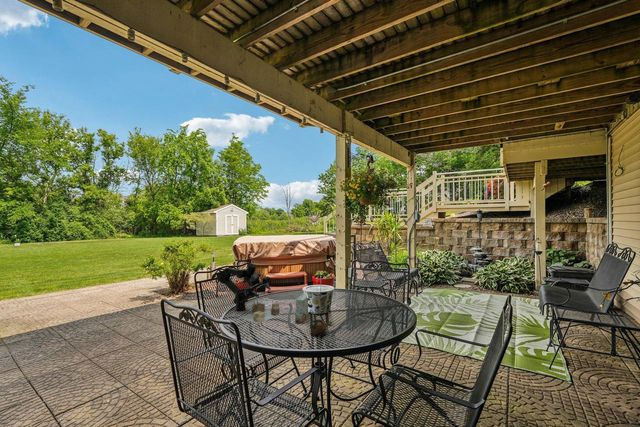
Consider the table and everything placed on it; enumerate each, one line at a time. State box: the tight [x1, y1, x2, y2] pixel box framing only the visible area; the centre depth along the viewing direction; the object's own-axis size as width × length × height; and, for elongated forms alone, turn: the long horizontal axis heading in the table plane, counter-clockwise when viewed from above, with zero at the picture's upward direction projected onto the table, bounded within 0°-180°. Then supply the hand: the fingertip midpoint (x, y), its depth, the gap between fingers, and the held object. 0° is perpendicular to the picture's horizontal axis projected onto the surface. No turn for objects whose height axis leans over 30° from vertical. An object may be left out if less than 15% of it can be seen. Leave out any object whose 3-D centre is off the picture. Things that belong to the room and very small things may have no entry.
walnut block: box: [251, 302, 266, 314], centre depth 200 cm, size 6×6×6 cm
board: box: [238, 309, 282, 324], centre depth 195 cm, size 18×22×1 cm
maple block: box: [253, 311, 265, 324], centre depth 186 cm, size 5×5×5 cm
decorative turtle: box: [309, 318, 328, 337], centre depth 168 cm, size 10×15×8 cm, turn 17°
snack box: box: [294, 292, 310, 324], centre depth 194 cm, size 21×6×15 cm, turn 168°
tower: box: [270, 302, 280, 317], centre depth 198 cm, size 4×4×8 cm
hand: (264, 292), depth 192 cm, fingers open, 9 cm apart
